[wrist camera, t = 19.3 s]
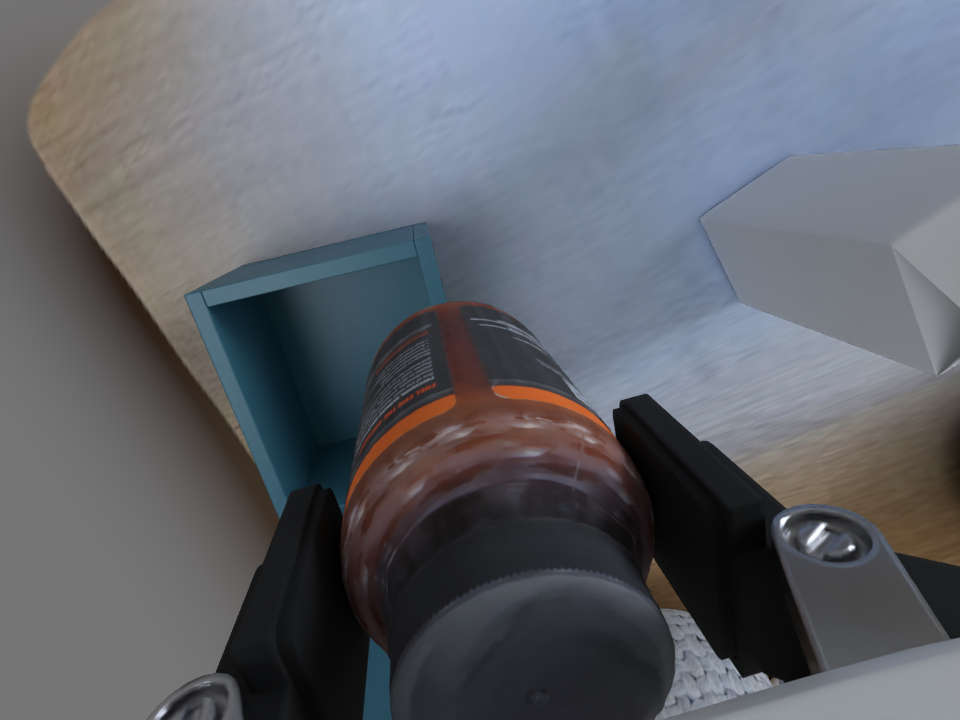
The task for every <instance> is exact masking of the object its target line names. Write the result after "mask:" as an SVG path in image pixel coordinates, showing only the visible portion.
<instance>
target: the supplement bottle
mask: <svg viewBox="0 0 960 720" xmlns="http://www.w3.org/2000/svg"><path fill="white" fill-rule="evenodd" d="M654 543H655V521H654V514H653V507H652V504H651V499H650V495H649V493H648V491H647V488H646V486H645V484H644V481H643V479H642V477H641V475H640V473H639V471H638V469H637V468H636V466H635V464H634V463H633V461H632V459H631V458H630V456H629V455H628V453H627V452H626V450H625V449H624V448H623V446H622V445H621V444H620V442H619V441H618V440H617V439H616V437H615V436H614V435H613V434H612V432H611V431H610V429H609V428H608V427H607V425H606V424H605V423H604V422H603V421H602V419H601V418H600V417H599V416H598V414H597V413H596V412H595V411H594V409H593V408H592V407H591V406H590V404H589V403H588V402H587V400H586V399H585V398H584V397H583V396H582V394H581V393H580V392H579V391H578V389H577V388H576V387H575V386H574V384H573V383H572V382H571V381H570V379H569V378H568V377H567V376H566V375H565V373H564V372H563V371H562V370H561V368H560V367H559V366H558V365H557V363H556V362H555V361H554V360H553V358H552V357H551V356H550V355H549V353H548V352H547V351H546V350H545V349H544V347H543V346H542V345H541V344H540V342H539V341H538V340H537V339H536V337H535V336H534V335H533V334H532V333H531V332H530V331H529V330H528V329H527V328H526V327H525V326H524V325H522V324H521V323H520V322H519V321H518V320H516V319H515V318H513V317H512V316H510V315H508V314H507V313H506V312H504V311H502V310H499V309H497V308H495V307H493V306H490V305H486V304H482V303H476V302H448V303H443V304H438V305H434V306H430V307H427V308H425V309H422V310H420V311H418V312H416V313H415V314H413V315H411V316H410V317H408V318H407V319H405V320H404V321H403V322H401V323H400V324H399V325H398V326H397V327H396V328H395V329H394V330H393V331H392V332H391V333H390V334H389V335H388V336H387V338H386V339H385V340H384V342H383V343H382V345H381V346H380V348H379V349H378V351H377V353H376V355H375V357H374V360H373V363H372V366H371V368H370V371H369V374H368V378H367V384H366V391H365V395H364V400H363V407H362V413H361V418H360V424H359V429H358V435H357V439H356V445H355V451H354V458H353V464H352V467H351V473H350V479H349V484H348V487H347V491H346V501H345V508H344V515H343V522H342V529H341V541H340V562H341V572H342V580H343V584H344V587H345V591H346V594H347V598H348V602H349V604H350V606H351V608H352V610H353V612H354V615H355V617H356V618H357V620H358V622H359V623H360V625H361V626H362V627H363V628H364V630H365V631H366V633H367V634H368V635H369V636H370V637H371V638H372V640H373V641H374V642H375V643H376V644H377V645H378V646H379V647H381V648H382V649H383V651H384V652H385V653H386V654H387V655H388V657H389V659H390V682H389V690H390V709H391V716H392V720H655V718H656V716H657V715H658V714H659V713H660V712H661V711H662V710H663V707H664V705H665V700H666V698H667V696H668V694H669V692H670V690H671V688H672V684H673V679H674V676H675V644H674V641H673V638H672V635H671V632H670V629H669V627H668V624H667V622H666V620H665V618H664V616H663V614H662V612H661V610H660V608H659V606H658V605H657V603H656V602H655V600H654V599H653V597H652V595H651V593H650V591H649V589H648V587H647V585H646V583H645V582H646V579H647V576H648V574H649V571H650V565H651V562H652V559H653V552H654Z"/></svg>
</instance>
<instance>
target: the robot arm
mask: <svg viewBox="0 0 960 720" xmlns="http://www.w3.org/2000/svg"><path fill="white" fill-rule="evenodd" d="M613 420H614V426H615V433H616V439H617V440H618V441H619V442H620V444H621V445H622V446H623V448H624V449H625V450H626V452H627V453H628V455H629V456H630V458H631V459H632V461H633V463H634V464H635V466H636V468H637V469H638V471H639V473H640V475H641V477H642V479H643V481H644V484H645V486H646V488H647V491H648V493H649V495H650V499H651V504H652V507H653V514H654V521H655V543H654V552H653V558H654V559H655V561H656V563H657V564H658V566H659V567H660V569H661V570H662V572H663V573H664V575H665V577H666V578H667V580H668V581H669V583H670V584H671V586H672V587H673V589H674V591H675V592H676V594H677V595H678V597H679V598H680V600H681V601H682V603H683V604H684V606H685V608H686V609H687V611H688V612H689V614H690V615H691V617H692V618H693V620H694V622H695V623H696V625H697V626H698V628H699V629H700V631H701V632H702V634H703V636H704V637H705V639H706V640H707V642H708V643H709V645H710V646H711V648H712V650H713V651H714V653H715V654H716V655H717V657H718V658H719V659H720V660H724V659H728V658H729V659H730V660H731V662H732V663H733V665H734V666H735V668H736V669H737V671H738V672H739V674H740V675H741V677H742V678H745V677H748V676H751V675H755V674H758V673H764V674H766V675H769V676H772V677H774V678H777V679H778V680H779V685H777V686H774V687H770V688H767V689H763V690H760V691H757V692H753V693H750V694H746V695H743V696H740V697H736V698H733V699H729V700H726V701H723V702H719V703H716V704H712V705H709V706H706V707H702V708H699V709H695V710H692V711H689V712H685V713H682V714H678V715H675V716H672V717H668V718H665V719H661V720H960V566H955V565H951V564H946V563H942V562H937V561H932V560H928V559H923V558H919V557H914V556H910V555H905V554H901V553H896V552H894V551H893V549H892V548H891V546H890V545H889V543H888V542H887V540H886V539H885V537H884V535H883V534H882V533H881V532H880V531H879V530H878V528H877V527H876V526H875V525H874V524H873V523H871V522H870V521H868V520H867V519H865V518H864V517H862V516H860V515H858V514H856V513H853V512H851V511H848V510H846V509H843V508H839V507H834V506H829V505H820V504H806V505H798V506H793V507H791V508H788V509H786V508H785V507H784V506H783V505H782V504H781V503H779V502H778V501H777V500H776V499H775V498H774V497H772V496H771V495H770V494H769V493H768V492H767V491H766V490H764V489H763V488H762V487H761V486H760V485H759V484H758V483H756V482H755V481H754V480H753V479H752V478H751V477H750V476H748V475H747V474H746V473H745V472H744V471H743V470H742V469H740V468H739V467H738V466H737V465H736V464H735V463H734V462H732V461H731V460H730V459H729V458H728V457H727V456H726V455H724V454H723V453H722V452H721V451H720V450H719V449H718V448H716V447H715V446H714V445H713V444H711V443H710V442H708V441H701V442H700V441H699V440H698V439H697V438H696V437H695V436H693V435H692V434H691V433H690V432H689V431H688V430H687V429H686V428H685V427H683V426H682V425H681V424H680V423H679V422H678V421H677V420H676V419H675V418H673V417H672V416H671V415H670V414H669V413H668V412H667V411H666V410H665V409H663V408H662V407H661V406H660V405H659V404H658V403H657V402H656V401H655V400H654V399H652V398H651V397H650V396H649V395H648V394H643V395H639V396H635V397H632V398H628V399H625V400H621V401H620V405H619V408H617V409H613ZM342 522H343V515H342V512H341V510H340V507H339V505H338V502H337V499H336V497H335V494H334V492H333V490H332V489H331V488H330V487H329V488H326V489H323V487H322V486H321V485H320V484H319V483H318V484H314V485H311V486H307V487H304V488H300V489H296V490H293V491H291V492H290V494H289V497H288V499H287V502H286V505H285V507H284V510H283V512H282V515H281V518H280V521H279V523H278V526H277V528H276V531H275V534H274V536H273V538H272V541H271V544H270V546H269V549H268V552H267V554H266V557H265V559H264V562H263V564H262V565H260V566H259V567H258V568H257V570H256V572H255V574H254V577H253V579H252V582H251V584H250V587H249V590H248V592H247V594H246V597H245V600H244V602H243V604H242V607H241V610H240V612H239V615H238V617H237V620H236V622H235V625H234V627H233V630H232V632H231V635H230V637H229V640H228V643H227V645H226V647H225V650H224V653H223V655H222V658H221V660H220V663H219V665H218V668H217V670H216V673H213V674H208V675H204V676H201V677H199V678H197V679H194V680H192V681H190V682H188V683H186V684H185V685H183V686H182V687H180V688H179V689H177V690H176V691H174V692H173V693H172V694H171V695H169V696H168V697H167V698H166V699H165V700H164V701H163V702H162V703H160V705H158V706H157V707H156V709H155V710H154V711H153V712H152V713H151V715H150V716H149V717H148V718H147V719H146V720H363V713H364V701H365V690H366V678H367V667H368V655H369V644H370V636H369V635H368V634H367V633H366V631H365V630H364V628H363V627H362V626H361V625H360V623H359V622H358V620H357V618H356V617H355V615H354V612H353V610H352V608H351V606H350V604H349V602H348V598H347V594H346V591H345V587H344V584H343V580H342V572H341V562H340V541H341V529H342Z"/></svg>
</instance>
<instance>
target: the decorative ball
mask: <svg viewBox="0 0 960 720" xmlns="http://www.w3.org/2000/svg"><path fill="white" fill-rule="evenodd" d="M660 610H661V612H662V614H663V616H664V618H665V620H666V622H667V624H668V627H669V629H670V632H671V635H672V638H673V641H674V644H675V676H674V679H673V684H672V688H671V690H670V692H669V694H668V696H667V698H666V700H665V705H664V707H663V710H662V711H661V712H660V713H659V714H658V715H657V716H656V718H655V720H661V719H665V718H668V717H672V716H675V715H678V714H682V713H685V712H689V711H692V710H695V709H699V708H702V707H706V706H709V705H712V704H716V703H719V702H723V701H726V700H729V699H733V698H736V697H740V696H743V695H746V694H750V693H753V692H757V691H760V690H763V689H767V688H770V687H773V685H772V684H771V682H770V680H769V678H768V677H767V675H766V674H764V673H758V674H755V675H751V676H748V677H745V678H742V677H741V675H740V674H739V672H738V671H737V669H736V668H735V666H734V665H733V663H732V662H731V660H730V659H729V658H728V659H724V660H720V659H719V658H718V657H717V655H716V654H715V653H714V651H713V650H712V648H711V646H710V645H709V643H708V642H707V640H706V639H705V637H704V636H703V634H702V632H701V631H700V629H699V628H698V626H697V625H696V623H695V622H694V620H693V618H692V617H691V615H690V614H689V612H685V611H681V610H674V609H660Z"/></svg>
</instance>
